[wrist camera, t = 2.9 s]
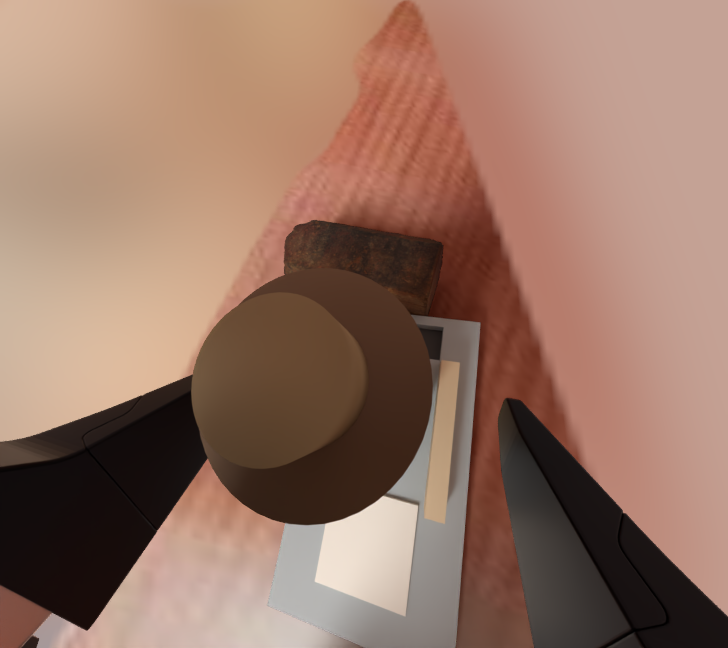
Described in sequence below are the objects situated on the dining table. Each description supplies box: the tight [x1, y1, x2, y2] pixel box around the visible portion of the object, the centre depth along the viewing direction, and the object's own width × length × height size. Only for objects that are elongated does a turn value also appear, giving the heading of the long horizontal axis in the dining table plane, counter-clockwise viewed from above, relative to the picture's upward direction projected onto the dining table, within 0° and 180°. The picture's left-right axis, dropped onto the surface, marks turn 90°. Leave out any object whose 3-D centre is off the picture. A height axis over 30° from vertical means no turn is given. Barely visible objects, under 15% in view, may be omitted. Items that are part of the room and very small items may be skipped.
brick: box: [284, 220, 443, 316], centre depth 19 cm, size 11×4×5 cm, turn 70°
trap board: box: [267, 315, 481, 648], centre depth 16 cm, size 18×10×3 cm, turn 169°
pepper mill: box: [191, 268, 433, 525], centre depth 10 cm, size 4×4×14 cm
